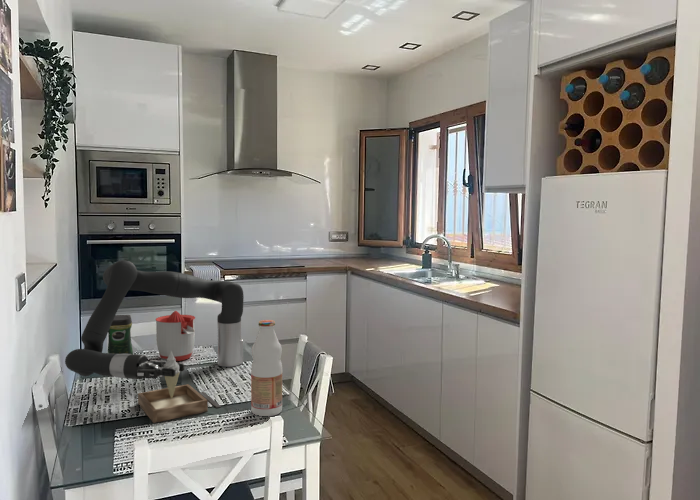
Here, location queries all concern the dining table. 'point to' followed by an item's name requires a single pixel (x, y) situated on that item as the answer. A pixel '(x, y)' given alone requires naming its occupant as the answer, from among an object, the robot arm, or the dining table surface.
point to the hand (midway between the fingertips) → (179, 370)
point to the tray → (174, 403)
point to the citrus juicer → (175, 335)
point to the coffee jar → (120, 335)
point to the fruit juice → (266, 372)
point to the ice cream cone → (170, 380)
